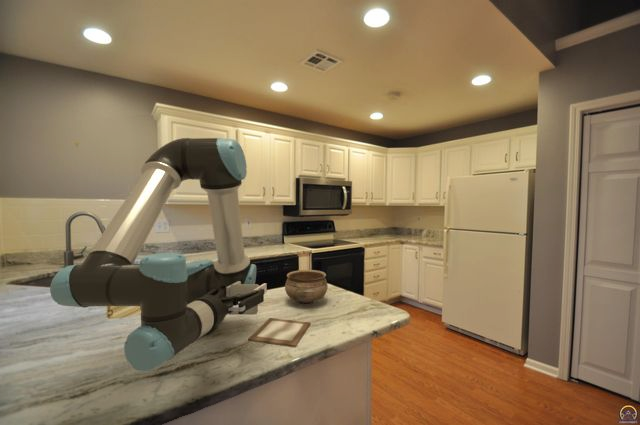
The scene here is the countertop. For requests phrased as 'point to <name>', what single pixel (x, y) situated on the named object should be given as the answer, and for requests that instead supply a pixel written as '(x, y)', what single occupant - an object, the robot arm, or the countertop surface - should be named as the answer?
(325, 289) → the cooking pot
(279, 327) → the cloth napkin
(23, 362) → the countertop surface
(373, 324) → the countertop surface
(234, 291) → the electrical switch
